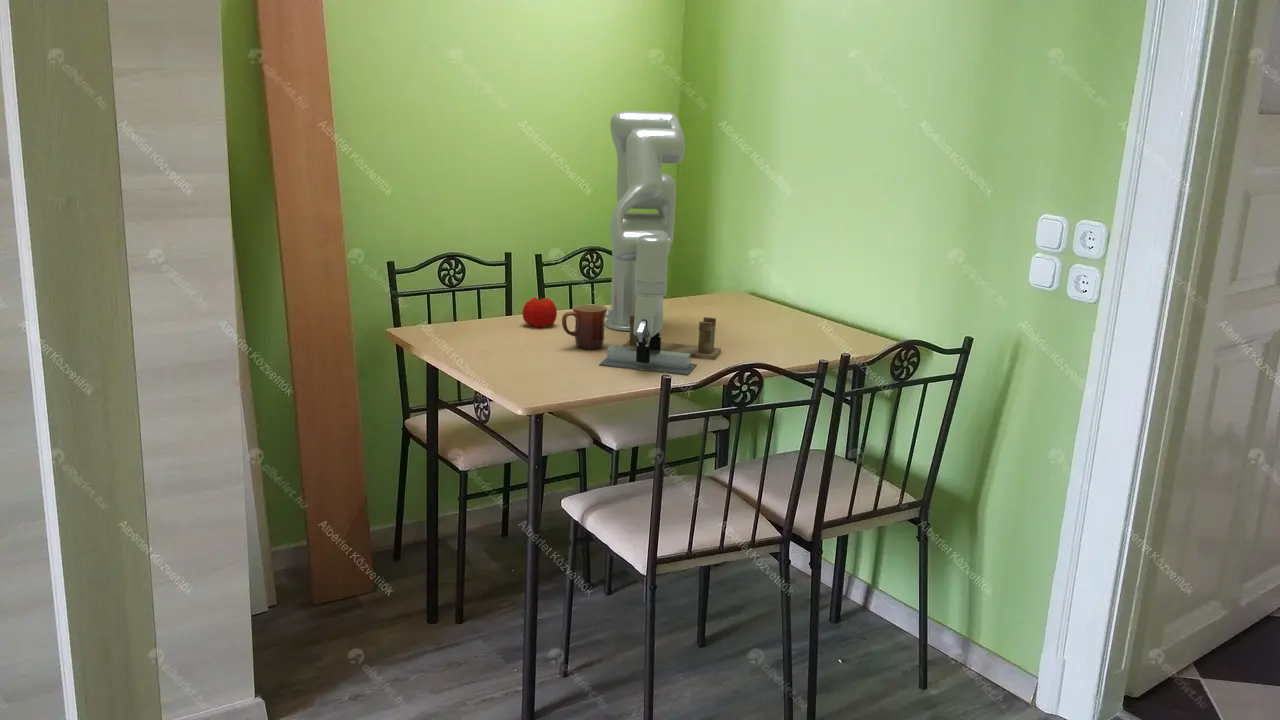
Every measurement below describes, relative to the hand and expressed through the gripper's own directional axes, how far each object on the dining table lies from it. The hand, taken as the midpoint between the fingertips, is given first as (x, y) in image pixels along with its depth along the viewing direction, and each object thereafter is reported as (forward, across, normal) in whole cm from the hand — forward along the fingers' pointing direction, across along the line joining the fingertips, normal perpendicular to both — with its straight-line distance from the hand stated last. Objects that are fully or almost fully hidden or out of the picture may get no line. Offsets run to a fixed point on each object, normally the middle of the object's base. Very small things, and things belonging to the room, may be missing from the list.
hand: (648, 357), depth 242 cm
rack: (+2, -15, +2) cm, 15 cm away
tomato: (+2, -27, -39) cm, 47 cm away
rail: (+2, 0, 0) cm, 2 cm away
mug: (+2, -10, -20) cm, 22 cm away
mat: (+2, 0, 0) cm, 2 cm away
